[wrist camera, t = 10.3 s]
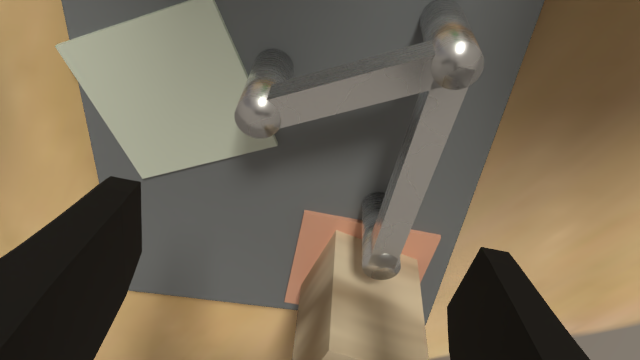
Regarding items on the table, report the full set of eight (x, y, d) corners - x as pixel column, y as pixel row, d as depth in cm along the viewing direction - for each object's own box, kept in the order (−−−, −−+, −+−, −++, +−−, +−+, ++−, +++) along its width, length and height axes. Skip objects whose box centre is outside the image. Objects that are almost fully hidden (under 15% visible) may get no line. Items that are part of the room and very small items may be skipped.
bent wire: (250, 202, 22) (234, 262, 19) (256, -26, 16) (234, 13, 13) (408, 221, 22) (414, 284, 19) (469, 0, 16) (491, 44, 13)
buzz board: (119, 273, 27) (110, 291, 26) (34, -142, 15) (13, -138, 14) (423, 309, 27) (425, 328, 26) (559, -77, 16) (572, -68, 15)
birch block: (376, 310, 25) (379, 431, 21) (301, 284, 25) (286, 404, 20) (417, 259, 23) (431, 382, 18) (335, 229, 22) (328, 350, 17)
